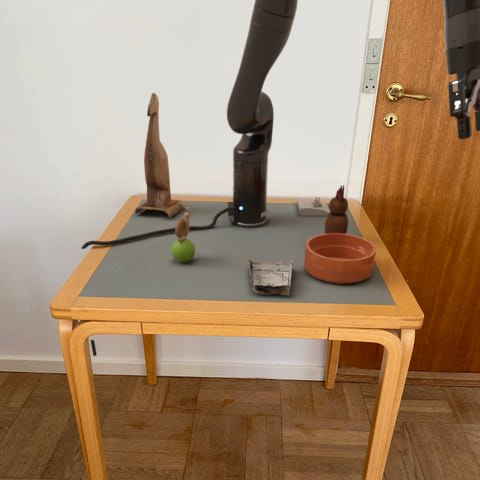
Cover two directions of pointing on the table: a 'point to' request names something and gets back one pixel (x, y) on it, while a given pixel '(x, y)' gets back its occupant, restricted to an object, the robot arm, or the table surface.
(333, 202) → the wooden figurine
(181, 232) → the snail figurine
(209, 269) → the table surface
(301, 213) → the grey stone carving
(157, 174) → the bird sculpture
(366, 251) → the bowl
